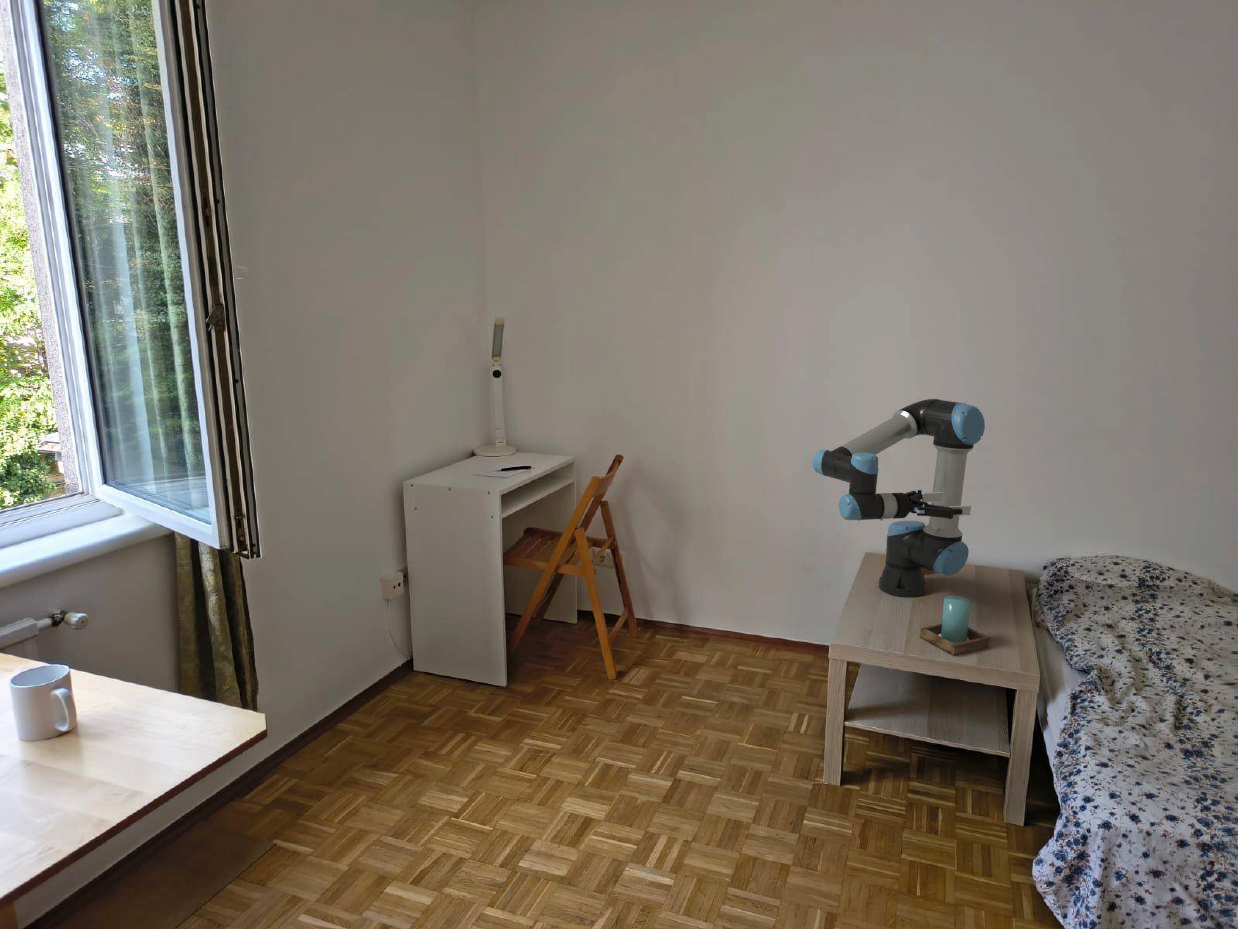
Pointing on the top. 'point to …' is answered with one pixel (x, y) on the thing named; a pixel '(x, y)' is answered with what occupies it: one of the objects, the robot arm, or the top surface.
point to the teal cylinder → (955, 619)
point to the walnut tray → (932, 637)
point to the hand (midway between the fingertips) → (956, 503)
